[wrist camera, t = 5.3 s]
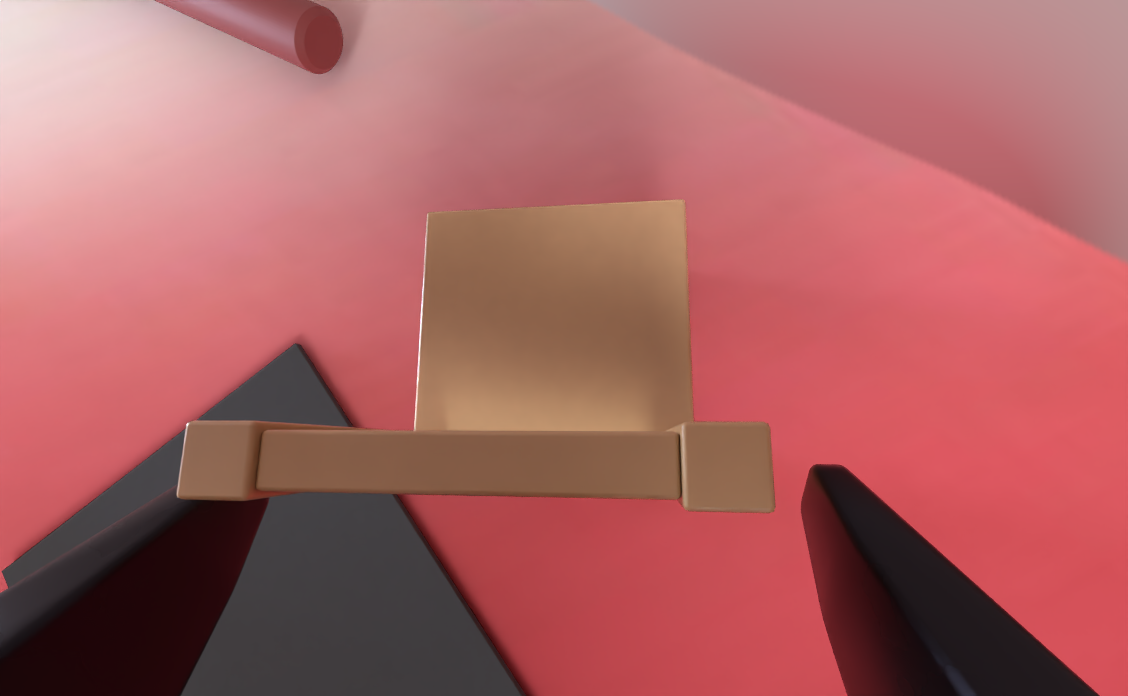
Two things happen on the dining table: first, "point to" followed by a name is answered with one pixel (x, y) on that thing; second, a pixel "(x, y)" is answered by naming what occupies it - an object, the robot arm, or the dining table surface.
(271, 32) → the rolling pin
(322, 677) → the mat
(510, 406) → the toy chair
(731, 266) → the dining table surface
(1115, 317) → the dining table surface
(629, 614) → the dining table surface
